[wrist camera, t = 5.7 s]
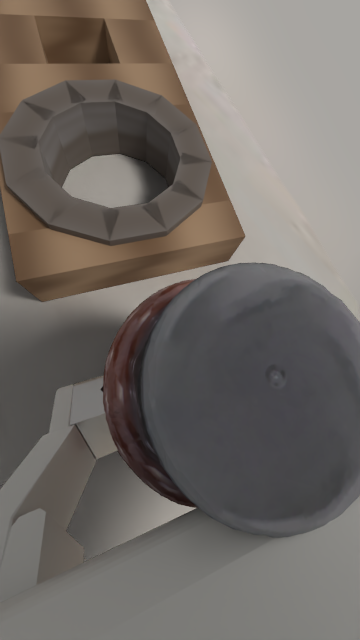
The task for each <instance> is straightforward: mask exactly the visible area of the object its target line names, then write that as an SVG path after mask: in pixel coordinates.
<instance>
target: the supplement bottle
mask: <svg viewBox="0 0 360 640" xmlns="http://www.w3.org/2000/svg"><path fill="white" fill-rule="evenodd" d="M103 405H104V411H105V414H106V421H107V423H108V426H109V431H110V433H111V436H112V440H113V441H114V443H115V445H116V447H117V449H118V453H119V454H120V456H121V457H122V458H123V459H124V461H125V462H126V463H127V465H128V466H129V467H130V468H131V469H132V470H133V472H134V473H135V474H136V475H137V476H138V477H139V478H140V479H141V480H142V481H143V482H144V483H145V484H146V485H148V486H149V487H150V488H151V489H153V490H154V491H155V492H157V493H159V494H160V495H161V496H163V497H166V498H168V499H169V500H171V501H173V502H176V503H177V504H181V505H185V506H189V507H196V508H199V509H201V510H202V511H203V512H204V513H205V514H207V515H208V516H209V517H210V518H212V519H214V520H216V521H218V522H220V523H222V524H224V525H226V526H228V527H230V528H231V529H234V530H238V531H243V532H247V533H250V534H253V535H265V536H269V537H272V538H282V537H291V536H294V535H298V534H304V533H307V532H310V531H312V530H315V529H317V528H320V527H322V526H325V525H326V524H327V523H328V522H329V521H332V520H334V519H336V518H337V517H339V516H340V515H341V514H343V512H344V511H345V510H346V509H347V508H348V507H349V506H350V505H351V504H352V503H353V502H354V501H355V500H356V499H357V498H358V497H359V496H360V322H359V321H358V320H357V319H356V317H355V316H354V315H353V314H352V313H351V311H350V310H349V309H348V308H347V306H346V305H345V304H344V303H343V302H342V300H340V299H339V298H337V297H336V296H334V295H333V294H331V293H330V292H329V291H328V290H327V289H326V288H325V287H324V286H323V285H321V284H319V283H318V282H316V281H314V280H313V279H311V278H310V277H308V276H306V275H304V274H302V273H299V272H295V271H293V270H291V269H288V268H284V267H279V266H277V265H273V264H266V263H239V264H234V265H228V266H224V267H220V268H218V269H215V270H213V271H210V272H208V273H206V274H204V275H202V276H200V277H199V278H197V279H193V280H186V281H182V282H179V283H175V284H173V285H171V286H168V287H166V288H164V289H161V290H159V291H158V292H156V293H154V294H153V295H151V296H150V297H149V298H147V299H146V300H145V301H143V302H142V303H141V304H140V305H139V306H138V307H137V308H136V309H135V310H134V311H133V312H132V313H131V314H130V315H129V316H128V318H127V319H126V321H125V322H124V324H123V325H122V326H121V328H120V329H119V331H118V333H117V334H116V337H115V339H114V341H113V343H112V346H111V348H110V350H109V353H108V356H107V359H106V364H105V369H104V377H103Z"/></svg>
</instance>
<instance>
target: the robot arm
mask: <svg viewBox="0 0 360 640" xmlns="http://www.w3.org/2000/svg"><path fill="white" fill-rule="evenodd" d="M103 377H104V375H103V376H99V377H96V378H92V379H89V380H85V381H82V382H78V383H75V384H72V385H68V386H65V387H61V388H58V390H57V391H56V394H55V400H54V405H53V411H52V417H51V422H50V428H49V433H48V434H46V435H43V436H42V437H41V439H40V440H39V441H38V442H37V444H36V445H35V446H34V447H33V449H32V450H31V451H30V452H29V454H28V455H27V456H26V458H25V459H24V460H23V461H22V463H21V464H20V465H19V466H18V468H17V469H16V470H15V471H14V473H13V474H12V475H11V477H10V478H9V479H8V480H7V482H6V483H5V484H4V485H3V487H2V488H1V489H0V640H360V496H359V497H358V498H357V499H356V500H355V501H354V502H353V503H352V504H351V505H350V506H349V507H348V508H347V509H346V510H345V511H344V512H343V514H341V515H340V516H339V517H337V518H336V519H334V520H332V521H329V522H328V523H327V524H326V525H325V526H322V527H320V528H317V529H315V530H312V531H310V532H307V533H304V534H298V535H294V536H291V537H282V538H272V537H269V536H265V535H253V534H250V533H247V532H243V531H238V530H234V529H231V528H230V527H228V526H226V525H224V524H222V523H220V522H218V521H216V520H214V519H212V518H210V517H209V516H208V515H207V514H205V513H204V512H203V511H202V510H201V509H199V508H196V509H194V510H192V511H190V512H188V513H186V514H184V515H182V516H180V517H178V518H175V519H173V520H171V521H169V522H167V523H165V524H163V525H161V526H159V527H157V528H155V529H152V530H150V531H148V532H146V533H144V534H142V535H140V536H138V537H136V538H134V539H132V540H129V541H127V542H125V543H123V544H121V545H119V546H117V547H115V548H113V549H111V550H108V551H106V552H104V553H102V554H100V555H98V556H96V557H94V558H92V559H90V560H88V561H85V562H84V548H83V547H82V546H81V545H80V544H79V543H78V542H77V541H76V540H75V539H74V538H73V537H72V536H71V535H70V534H69V533H67V532H66V530H67V528H68V525H69V523H70V521H71V518H72V516H73V514H74V512H75V509H76V507H77V505H78V502H79V500H80V498H81V495H82V493H83V491H84V489H85V486H86V484H87V482H88V479H89V477H90V475H91V473H92V470H93V468H94V466H95V463H96V459H99V458H101V457H104V456H106V455H108V454H111V453H113V452H116V451H118V449H117V447H116V445H115V443H114V441H113V440H112V436H111V433H110V431H109V426H108V423H107V421H106V414H105V411H104V405H103Z"/></svg>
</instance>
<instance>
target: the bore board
mask: <svg viewBox="0 0 360 640" xmlns="http://www.w3.org/2000/svg"><path fill="white" fill-rule="evenodd" d="M119 153H120V154H124V155H127V156H130V157H133V158H136V159H139V160H143V161H146V162H147V163H148V164H150V165H151V166H152V167H153V168H154V169H155V170H156V171H158V172H159V173H160V174H161V175H162V176H163V177H164V178H166V181H167V184H168V187H169V188H167V189H166V190H165V191H163V192H162V193H161V194H159V195H158V196H157V197H155V198H154V199H153V200H151V201H150V202H149V203H144V204H137V205H130V206H123V207H116V208H108V207H105V206H101V205H98V204H94V203H91V202H88V201H84V200H81V199H77V198H74V197H71V196H70V195H69V194H68V193H67V192H66V191H65V190H64V189H63V188H62V186H63V184H64V181H65V179H66V177H67V175H68V173H69V171H70V169H72V168H73V167H75V166H77V165H78V164H80V163H82V162H83V161H85V160H87V159H88V158H90V157H91V156H97V155H108V154H119ZM0 189H1V194H2V200H3V206H4V212H5V218H6V224H7V230H8V236H9V241H10V247H11V253H12V259H13V265H14V271H15V277H16V282H18V283H19V284H20V285H21V286H23V287H24V288H25V289H26V290H28V291H29V292H30V293H32V294H33V295H34V296H35V297H37V298H38V299H39V300H40V301H42V302H44V301H48V300H53V299H57V298H62V297H67V296H71V295H76V294H80V293H85V292H89V291H94V290H98V289H103V288H107V287H112V286H116V285H121V284H125V283H130V282H134V281H139V280H144V279H148V278H153V277H157V276H162V275H166V274H171V273H175V272H180V271H184V270H189V269H193V268H198V267H202V266H207V265H211V264H216V263H221V262H225V261H228V260H229V259H230V258H231V256H232V255H233V253H234V252H235V251H236V249H237V248H238V246H239V245H240V243H241V242H242V241H243V239H244V238H245V234H244V232H243V229H242V227H241V224H240V222H239V220H238V217H237V215H236V213H235V210H234V208H233V206H232V203H231V201H230V198H229V196H228V194H227V191H226V189H225V187H224V184H223V182H222V180H221V177H220V175H219V172H218V170H217V168H216V165H215V163H214V161H213V158H212V156H211V153H210V151H209V149H208V146H207V144H206V142H205V139H204V137H203V135H202V132H201V130H200V127H199V125H198V123H197V120H196V118H195V116H194V113H193V111H192V109H191V106H190V104H189V101H188V99H187V97H186V94H185V92H184V90H183V87H182V85H181V82H180V80H179V78H178V75H177V73H176V71H175V68H174V66H173V64H172V61H171V59H170V56H169V54H168V52H167V49H166V47H165V45H164V42H163V40H162V38H161V35H160V33H159V30H158V28H157V26H156V23H155V21H154V19H153V16H152V14H151V11H150V9H149V7H148V4H147V2H146V0H0Z"/></svg>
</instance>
